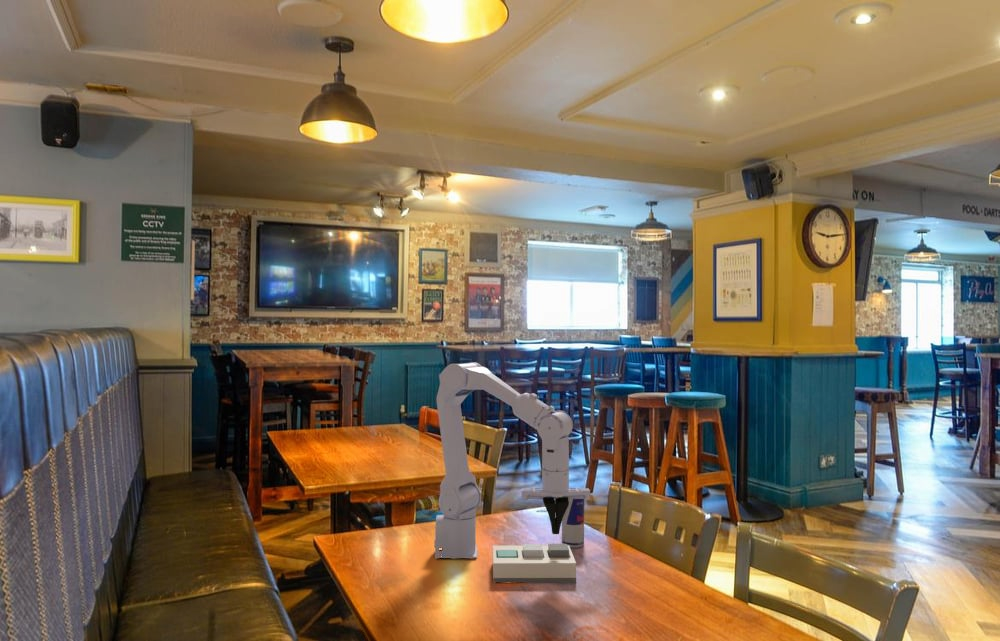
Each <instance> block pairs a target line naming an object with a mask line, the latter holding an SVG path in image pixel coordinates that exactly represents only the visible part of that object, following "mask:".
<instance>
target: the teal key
mask: <svg viewBox="0 0 1000 641" xmlns="http://www.w3.org/2000/svg"><path fill="white" fill-rule="evenodd" d="M498 558H517V553H516V550H498Z"/></svg>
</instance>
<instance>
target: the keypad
mask: <svg viewBox="0 0 1000 641" xmlns="http://www.w3.org/2000/svg"><path fill="white" fill-rule="evenodd" d="M567 546H568V548H569V558H549V556H548V544H546V545H542V548H543V558H523V545H492V579H493V582H518V583H517V584H520V583H519V582H522V583H521V584H541V583H542V584H546V583H547V584H554V583H555V584H562V583H563V584H565V583H566V584H567V583H568V584H569V583H570V584H572V583H577V562H576V559H575V557H574V554H573V552H572V550H571V548H570V546H569V545H567ZM498 550H516V553H517V558H498ZM493 582H492V583H493Z"/></svg>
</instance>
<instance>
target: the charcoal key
mask: <svg viewBox="0 0 1000 641" xmlns="http://www.w3.org/2000/svg"><path fill="white" fill-rule="evenodd" d="M547 545H548V556H549V558H569V548H568V546H567V544H562V543H548V544H547Z"/></svg>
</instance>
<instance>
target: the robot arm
mask: <svg viewBox="0 0 1000 641" xmlns="http://www.w3.org/2000/svg"><path fill="white" fill-rule="evenodd" d="M438 377H439V378H438V379H439V387H438V390H437V391H438V392H437V394H436V407H437V416H438V422H439V431H440V439H441V440H440V441H441V446H442V454H443V463H444V469H445V474H444V475H445V476H443V479H442V481H441V482H440V485H439V490H440V494H439V496H438V508H439V510H440V512H441V513H442V514H437V515H436V517H435V529H434V530H435V532H434V536H435V538H434V543H433V544H434V552H435V553H434V559H435V558H476V559H477V558H478V545H477V544H476V533H477V532H476V530H477V529H476V524H477V523H476V519H477V515H476V514H477V508H478V507H479V506H480V504H481V501H482V492H481V490H480V488H479V486H478V484H477V479H476V476H475V475H474V474H473V473H472V472H471V471H470V468H469V467H470V466H469V460H468V454H467V451H468V450H467V446H466V438H465V437H466V436H465V428H464V423H463V422H464V421H463V414H462V407H461V404H462V403H463V402H464V400H466V398H467V397H468V396H469V395H470V394H471V393H472V392H475V391H477V390H481V391H482V390H483V391H485V392H486V393H488V394H490V395H492V396H494V397H495V398H497V399H499V400H500V401H502V402H503V403H505V404H507V405H508V406H510V407H511V409H512V413H513V415H514V416H516V417H517V418H518V419H520V420H521V421H524V423H526V424H528V426H530V427H532V428H533V429H535V430H537V433H538V436H539V438H540V439H541V444H542V445H541V447H542V448H541V468H542V470H541V480H542V481H541V482H542V483H541V486H540V487H530V488H521V491H520V492H521V500H522V501H523V500H524V501H526V500H542V502H543V504H544V507H545V509H546V512H547V514H548V517H549V518H548V519H549V521H550V526H551V533H552V534H551V535H560V532H561V527H562V519H563V516H564V514H565V512H566V510H567V508H568V505H569V501H568V499H584V501H586V500H587V501H588V500H591V490H590V489H589V488H587V487H586V488H585V487H584V488H583V487H582V488H581V487H570V474H569V473H570V447H569V446H570V441H569V440H570V437H569V435H571V433H572V431H573V428H574V427H573V426H574V423H573V420H572V417H570V415H569V414H568V413H567V412H566V411H564V410H555V409H556V408H555V407H554V406H553V405H547V404H546V403H544V402H543V401H541V400H540V399H538V395H537V394H536V393H534V392H533V393H529V392H524V393H520V392H518V391H517V390H516V389H514V388H513V387H511V386H510V385H509V384H507V383H506V382H504V380H502V379H501V378H500V377H498V376H496V375H495V374H494V373H492V372H491V370H489V368H487V367H485V366H482V365H481V364H480V363H478V362H474V361H471V362H468V363H467V362H466V363H465V362H464V363H450V364H447V366H445V368H444V369H443V370H442V371H441V373H439V375H438ZM475 546H476V547H475ZM439 548H442V550H439ZM475 548H476V549H475ZM441 556H442V557H441Z"/></svg>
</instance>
